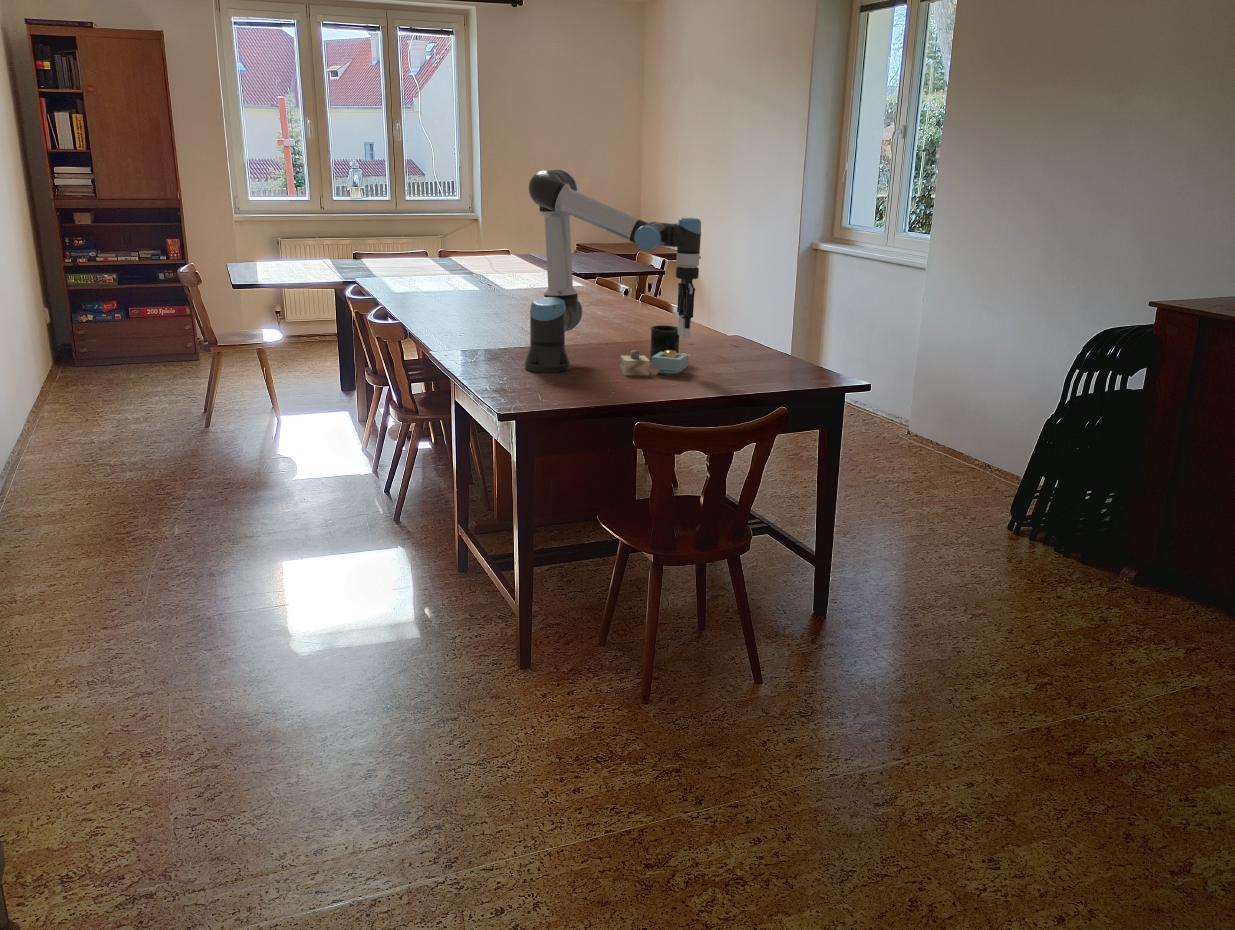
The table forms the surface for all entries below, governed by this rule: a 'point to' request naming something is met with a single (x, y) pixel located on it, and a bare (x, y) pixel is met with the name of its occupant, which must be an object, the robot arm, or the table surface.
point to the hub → (666, 372)
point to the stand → (634, 364)
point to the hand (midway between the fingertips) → (683, 335)
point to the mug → (664, 339)
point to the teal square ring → (669, 362)
